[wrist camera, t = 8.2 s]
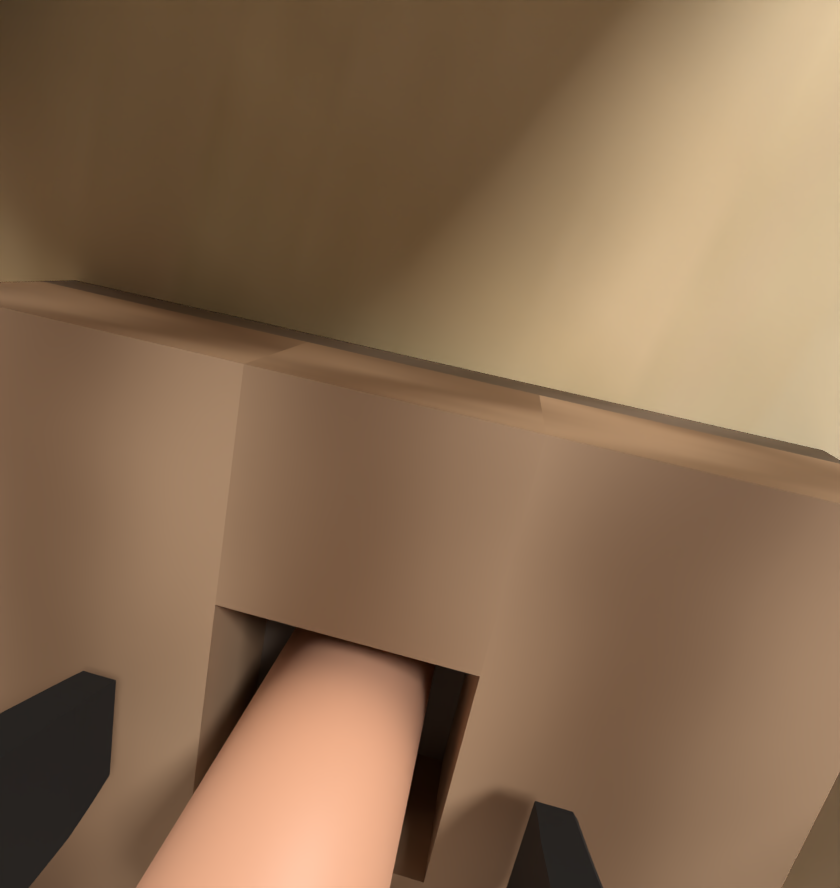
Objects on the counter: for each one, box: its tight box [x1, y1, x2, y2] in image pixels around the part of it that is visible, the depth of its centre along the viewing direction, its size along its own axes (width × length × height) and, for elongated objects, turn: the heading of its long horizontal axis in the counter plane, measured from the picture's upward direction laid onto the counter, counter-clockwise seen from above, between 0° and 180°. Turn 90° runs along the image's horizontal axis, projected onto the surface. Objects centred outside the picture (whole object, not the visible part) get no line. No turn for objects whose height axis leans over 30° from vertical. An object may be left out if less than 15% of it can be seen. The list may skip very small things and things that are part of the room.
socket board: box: [0, 280, 840, 888], centre depth 13 cm, size 16×13×4 cm
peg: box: [136, 627, 435, 888], centre depth 11 cm, size 3×3×7 cm
